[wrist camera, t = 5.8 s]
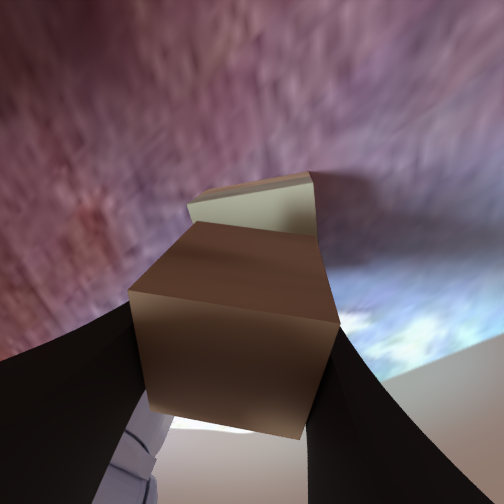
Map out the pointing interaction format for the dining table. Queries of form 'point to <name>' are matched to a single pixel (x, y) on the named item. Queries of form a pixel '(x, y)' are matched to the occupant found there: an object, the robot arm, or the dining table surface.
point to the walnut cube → (235, 327)
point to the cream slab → (261, 205)
